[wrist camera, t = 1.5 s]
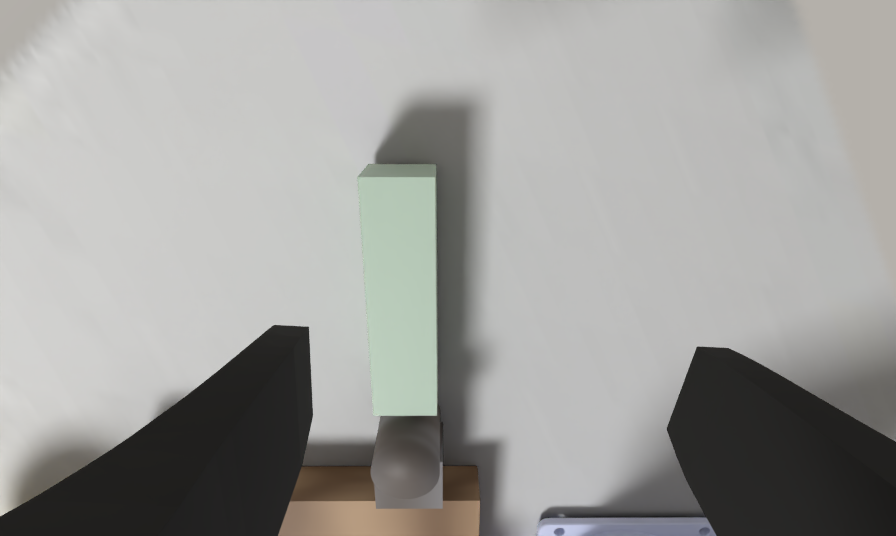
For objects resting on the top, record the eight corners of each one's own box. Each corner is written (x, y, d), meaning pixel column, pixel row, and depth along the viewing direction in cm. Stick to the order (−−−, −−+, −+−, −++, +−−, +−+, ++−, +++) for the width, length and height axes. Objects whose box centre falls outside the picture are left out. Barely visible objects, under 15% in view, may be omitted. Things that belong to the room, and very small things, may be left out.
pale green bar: (438, 378, 21) (437, 415, 18) (380, 378, 21) (373, 415, 18) (436, 163, 17) (435, 177, 15) (368, 163, 17) (357, 177, 15)
